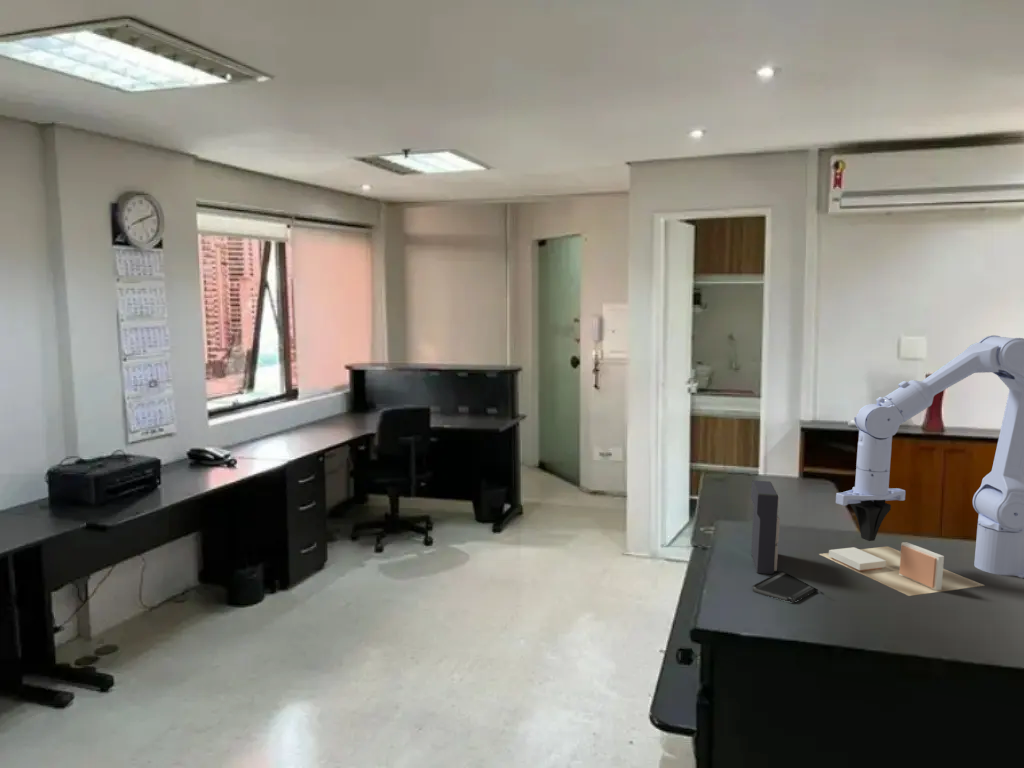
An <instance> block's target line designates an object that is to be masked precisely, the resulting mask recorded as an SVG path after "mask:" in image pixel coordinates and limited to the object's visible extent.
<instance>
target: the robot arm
mask: <svg viewBox="0 0 1024 768" xmlns="http://www.w3.org/2000/svg"><path fill="white" fill-rule="evenodd" d="M978 373H979V374H981V373H982V374H983V373H984V374H985V373H993V374H994V375H995V376H997V377H998V378H999V379H1000V380H1001V382H1002V383H1004V385H1005V386H1006V387H1007V388H1008V395H1007V400H1006V402H1005V403H1006V404H1005V408H1004V409H1005V410H1004V414H1003V419H1002V422H1001V427H1000V431H999V436H998V439H997V444H996V450H995V454H994V458H993V464H992V468H991V471H990V472H989V473H987V474H986V475H985V476H984V477H983V478H982V480H981V484H980V487H979V488H978V489H977V490H976V492H974V494H973V497H972V507H973V509H974V511H975V512H976V513H977V514H978V518H977V528H976V538H975V539H976V540H975V541H976V542H975V550H974V551H975V552H974V563H973V565H974V568H976V569H978V570H980V571H982V572H986V573H989V574H993V575H999V576H1016V577H1018V578H1022V579H1023V578H1024V338H1023V337H1006V336H1000V335H994V334H993V335H988V336H985V337H982V338H981V339H980V340H979V341H978V342H975V343H972V344H970V345H969V346H968V347H966V349H965V350H964V351H962V352H961V353H960V354H958V355H957V356H955V357H954V358H953V359H951V360H950V361H948V362H947V363H946V364H944V365H943V366H940V368H938V369H937V370H936V371H934V372H933V373H931V374H930V375H928V376H927V377H926V378H923V380H921V381H920V380H913V379H910V380H909V381H906V380H903V381H902V380H901V382H900V383H898V384H897V385H898V388H896V389H895V390H892V391H891V392H890V393H888V394H887V395H884V396H883V397H882V396H879V397H877V398H876V399H875V401H876V403H868V404H865V405H864V406H862V407H861V408H860V409H859V410H858V413H856V416H855V417H854V418H853V419H854V420H853V422H854V424H855V426H856V428H857V430H858V441H857V452H856V463H855V464H856V465H855V466H856V467H855V468H856V469H855V481H854V486H853V487H852V489H849V490H846V491H843V492H841V491H840V492H836V493H835V504H837V505H841V506H848V505H850V507H851V508H852V510H853V512H854V515H855V517H856V519H857V524H858V528H859V533H860V538H861V539H862V540H865V541H868V542H873V541H875V540H876V538H877V535H878V532H879V529H880V527H881V525H882V522H883V520H884V519H885V517H887V514H889V512H890V511H891V508H892V506H891V504H889V503H887V502H888V501H900V502H901V501H905V500H906V490H905V489H902V488H899V487H898V488H897V487H896V488H893V487H892V488H891V487H890V486H889V485H890V474H891V473H890V472H891V458H892V448H893V447H892V442H893V436H895V435H896V434H897V433H898V431H899V429H900V425H902V424H904V423H905V422H907V421H909V420H910V419H911V418H913V417H915V416H916V415H918V414H920V413H921V412H923V411H925V410H927V408H930V407H931V406H932V405H933V402H934V397H935V396H936V395H937V394H939V393H942V392H943V391H945V390H948V388H950V387H952V386H954V385H955V384H957V383H959V382H961V381H963V380H965V379H966V378H968V377H970V376H971V375H973V374H978Z"/></svg>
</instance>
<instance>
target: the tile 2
mask: <svg viewBox="0 0 1024 768" xmlns="http://www.w3.org/2000/svg"><path fill="white" fill-rule="evenodd" d="M900 551H901V557H900V570H899V575H901V576H903V577H906V578H908V579H910V580H913V581H915V582H917V583H919V584H922V585H924V586H926V587H929V588H931V589H933V590H935V591H938V590H941V588H942V576H943V569H944V565H945V564H944V561H945V556H944V555H942V554H940V553H937V552H933V551H931V550H929V549H927V548H923V547H921V546H918V545H915V544H913V543H910V542H907V541H906V542H904V541H903V542H901V546H900Z"/></svg>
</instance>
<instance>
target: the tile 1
mask: <svg viewBox="0 0 1024 768" xmlns="http://www.w3.org/2000/svg"><path fill="white" fill-rule="evenodd" d="M828 553H829V556H830V557H832V559H834V560H836V561H838V562H840V563H842V564H845V565H847V566H849V567H851V568H853V569H855V570H858V571H867V570H875V569H882V567H886V561H885V560H883V559H881V558H878V557H876V556H874V555H871V554H869V553H867V552H864V551H862V550H859V548H857V547H845V548H844V547H843V548H834V549H828Z"/></svg>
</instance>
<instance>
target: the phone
mask: <svg viewBox="0 0 1024 768" xmlns="http://www.w3.org/2000/svg"><path fill="white" fill-rule="evenodd" d="M816 590H817V591H819V590H818V588H816V587H814V586H812V585H810V584H808V583H806V582H804V581H803V580H801V579H798V578H797V577H795V576H793V575H791V574H789V573H788V572H786V571H783V570H781V571H779V572H777V573H774V574H772V575H771V576H769V577H767V578H765V579H763V580H761V581H760V582H757V583H754V584H753V585H752V593H753V592H754V593H755V594H759V595H761V596H764V597H768V596H769V597H768V598H771V597H773V598H772V599H774V598H778V599H781V600H785V601H790V602H795V601H797V600H800V599H801V598H803V597H805V596H806V597H808V596H809V595H808V594H810V593H812V592H813V593H815V592H817V591H816ZM814 591H815V592H814ZM813 593H812V594H813ZM807 595H808V596H807ZM810 595H811V594H810ZM806 597H805V598H806ZM778 599H777V600H778ZM803 599H804V598H803ZM781 600H780V601H781ZM801 600H802V599H801ZM801 600H800V601H801Z"/></svg>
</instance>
